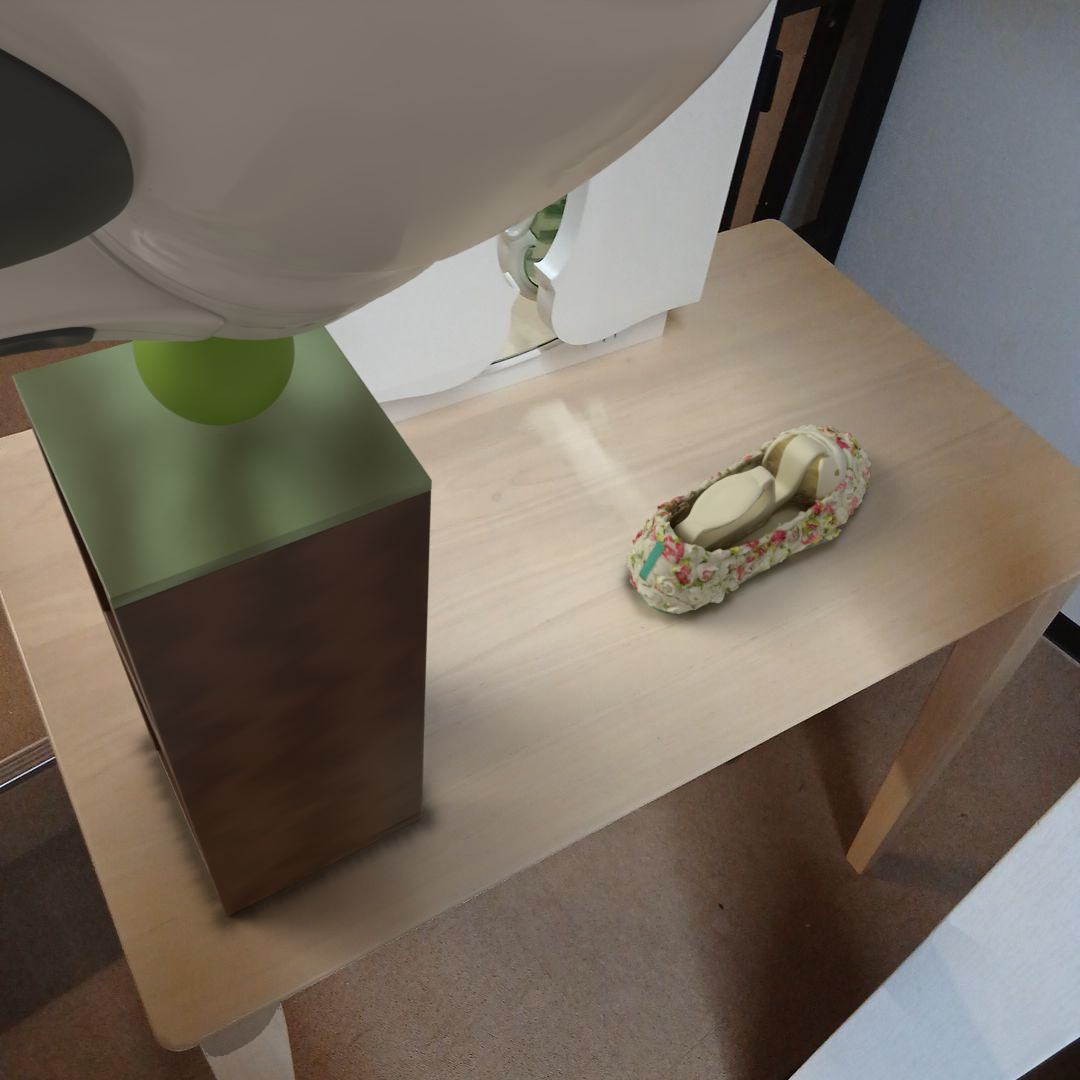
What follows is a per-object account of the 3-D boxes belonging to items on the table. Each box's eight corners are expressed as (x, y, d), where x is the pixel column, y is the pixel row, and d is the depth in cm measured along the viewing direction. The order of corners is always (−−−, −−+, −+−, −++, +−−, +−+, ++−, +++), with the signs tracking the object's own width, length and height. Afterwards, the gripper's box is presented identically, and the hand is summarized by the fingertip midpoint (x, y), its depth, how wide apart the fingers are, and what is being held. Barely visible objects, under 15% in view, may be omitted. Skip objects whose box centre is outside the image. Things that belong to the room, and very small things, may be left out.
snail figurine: (123, 361, 41) (37, 52, 31) (295, 350, 42) (262, 50, 33) (118, 466, 37) (21, 154, 28) (305, 450, 39) (271, 147, 29)
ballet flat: (898, 492, 84) (936, 421, 78) (695, 665, 72) (722, 597, 66) (804, 425, 88) (834, 352, 82) (596, 579, 76) (613, 507, 70)
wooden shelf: (226, 917, 59) (109, 599, 35) (153, 744, 64) (11, 374, 41) (422, 818, 63) (432, 479, 40) (336, 665, 69) (302, 293, 46)
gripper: (627, -91, 26) (437, 94, 38) (-391, 33, 18) (-210, 215, 30) (692, 173, 27) (487, 269, 39) (-238, 397, 19) (-124, 428, 32)
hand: (178, 246), depth 35 cm, fingers closed on snail figurine, 5 cm apart
